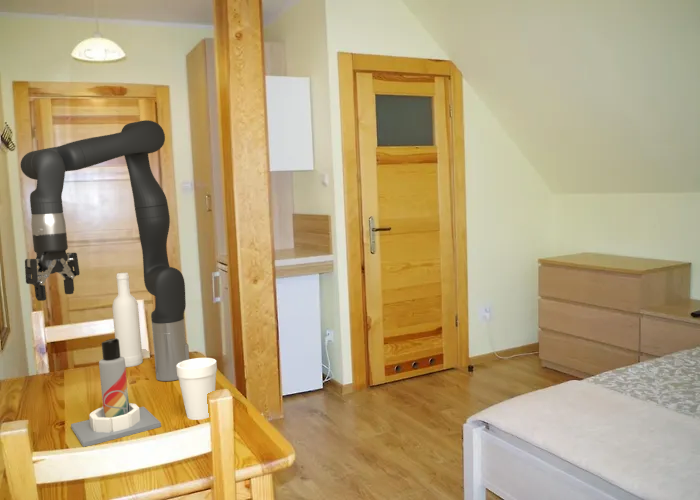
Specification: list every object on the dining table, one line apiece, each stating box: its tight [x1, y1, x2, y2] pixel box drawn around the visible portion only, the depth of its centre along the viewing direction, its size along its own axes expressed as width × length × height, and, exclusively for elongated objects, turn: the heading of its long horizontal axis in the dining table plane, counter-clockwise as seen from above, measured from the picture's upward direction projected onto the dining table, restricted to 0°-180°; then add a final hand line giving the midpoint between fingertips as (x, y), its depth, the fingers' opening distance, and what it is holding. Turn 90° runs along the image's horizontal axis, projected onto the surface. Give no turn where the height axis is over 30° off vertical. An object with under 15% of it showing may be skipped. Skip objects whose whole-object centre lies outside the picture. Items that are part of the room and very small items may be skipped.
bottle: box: [111, 271, 144, 368], centre depth 194 cm, size 8×8×30 cm
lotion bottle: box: [98, 337, 130, 418], centre depth 141 cm, size 6×6×20 cm
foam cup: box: [176, 357, 218, 421], centre depth 146 cm, size 10×9×13 cm
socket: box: [70, 402, 162, 448], centre depth 141 cm, size 17×14×4 cm
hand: (55, 297), depth 149 cm, fingers open, 8 cm apart
